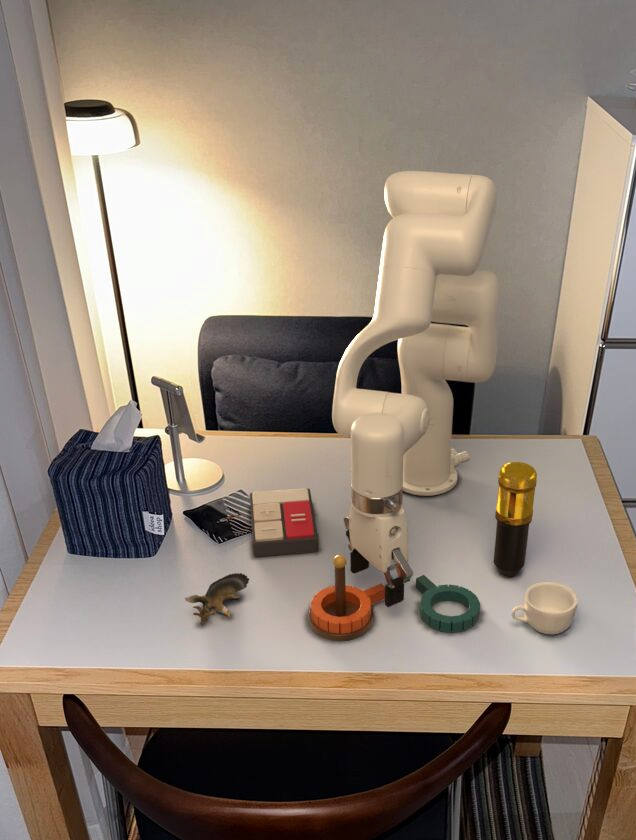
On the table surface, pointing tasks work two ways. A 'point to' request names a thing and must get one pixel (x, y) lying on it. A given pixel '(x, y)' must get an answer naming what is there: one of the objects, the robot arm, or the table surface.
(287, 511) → the calculator
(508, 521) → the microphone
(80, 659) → the table surface
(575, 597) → the teacup
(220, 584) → the eagle figurine
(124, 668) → the table surface
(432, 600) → the teal ring
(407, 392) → the robot arm
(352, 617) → the orange ring
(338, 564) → the peg stand
